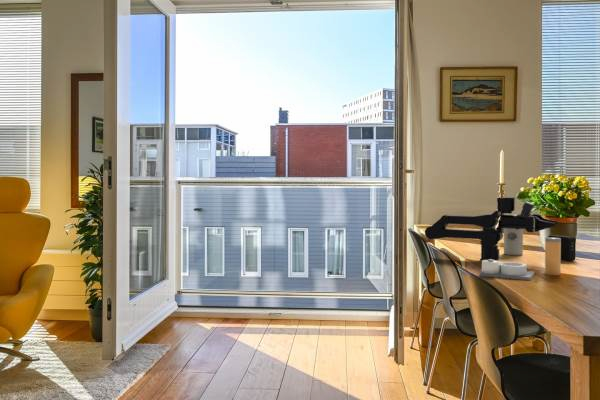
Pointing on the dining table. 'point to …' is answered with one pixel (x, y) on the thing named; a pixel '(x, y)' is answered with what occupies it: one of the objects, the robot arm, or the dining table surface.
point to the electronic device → (566, 247)
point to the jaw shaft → (552, 256)
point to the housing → (505, 270)
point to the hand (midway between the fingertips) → (556, 223)
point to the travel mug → (513, 241)
